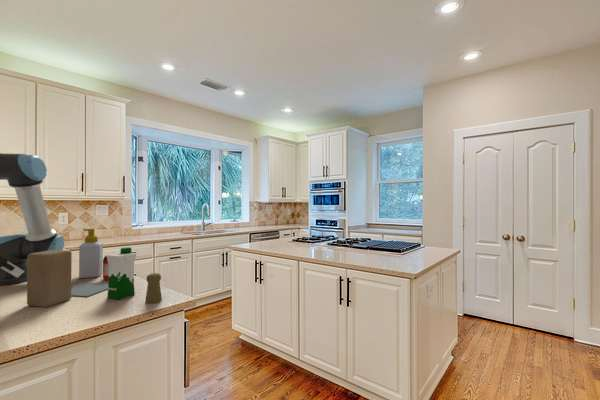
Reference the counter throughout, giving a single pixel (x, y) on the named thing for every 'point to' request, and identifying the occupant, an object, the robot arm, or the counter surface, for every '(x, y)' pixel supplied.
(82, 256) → the soap bottle
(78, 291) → the mat
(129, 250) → the milk carton
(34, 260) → the block
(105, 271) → the beverage can
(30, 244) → the robot arm
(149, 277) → the olive peg figure
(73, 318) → the counter surface
